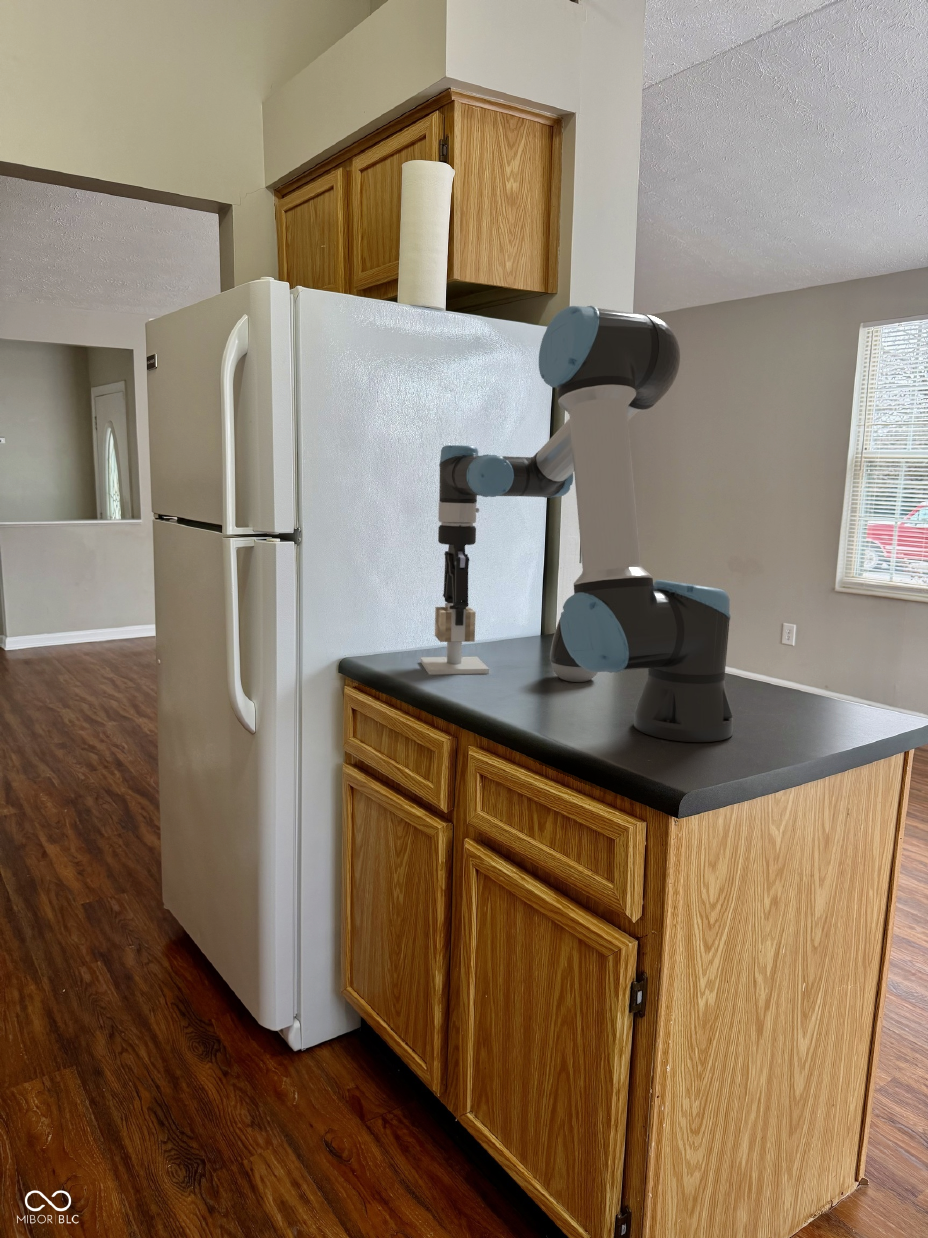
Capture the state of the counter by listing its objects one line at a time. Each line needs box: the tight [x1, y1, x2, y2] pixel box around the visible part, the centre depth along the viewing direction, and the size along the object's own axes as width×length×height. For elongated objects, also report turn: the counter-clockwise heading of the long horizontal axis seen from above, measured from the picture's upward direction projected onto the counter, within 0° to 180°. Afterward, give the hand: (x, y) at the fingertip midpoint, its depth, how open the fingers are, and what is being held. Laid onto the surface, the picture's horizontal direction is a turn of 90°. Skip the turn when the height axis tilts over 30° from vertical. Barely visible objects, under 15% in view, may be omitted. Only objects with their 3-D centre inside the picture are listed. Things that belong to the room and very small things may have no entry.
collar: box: [434, 606, 476, 643], centre depth 179 cm, size 7×7×6 cm
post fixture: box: [420, 604, 490, 676], centre depth 179 cm, size 12×12×13 cm
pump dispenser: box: [549, 616, 599, 683], centre depth 171 cm, size 10×10×15 cm
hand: (454, 637), depth 179 cm, fingers closed on collar, 7 cm apart
